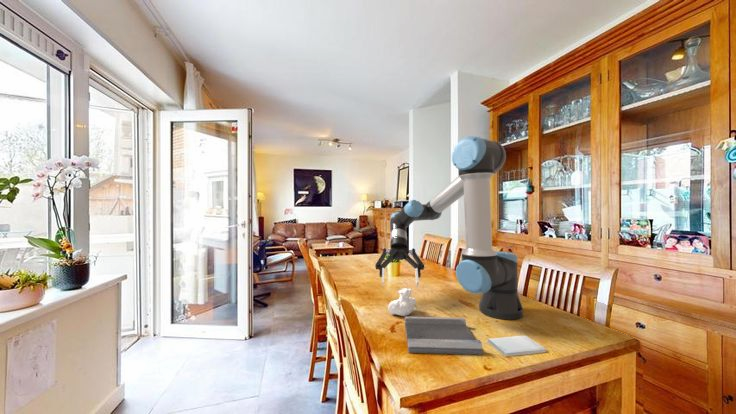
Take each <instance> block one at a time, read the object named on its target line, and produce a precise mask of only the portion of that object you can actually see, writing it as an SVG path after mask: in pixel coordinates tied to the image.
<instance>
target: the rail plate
mask: <svg viewBox="0 0 736 414" xmlns="http://www.w3.org/2000/svg"><path fill="white" fill-rule="evenodd" d="M404 327H405V335H406V344H407V351H408V354H435V355H436V354H438V355H441V354H442V355H469V356H471V355H473V356H474V355H475V356H477V355H478V356H483V354H484V351H483V343H482V341H481V340H477V339H476V338H475V337H474V335H473V333H472V332H471V331H470V329H469V328H468V326H467V319H466V318H465V317H452V316H451V317H450V316H449V317H448V316H444V317H443V316H440V317H439V316H404Z"/></svg>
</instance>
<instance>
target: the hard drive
mask: <svg viewBox="0 0 736 414" xmlns="http://www.w3.org/2000/svg"><path fill="white" fill-rule="evenodd" d="M486 341H487V343H488V344H489V345H490V346H492V347H493V348H494V349H495V350H496V351H498V352H499V353H500V354H501V355H503V356H504V357H515V356H523V355H534V354H543V353H547V349H546V347H544V346H543V345H541V344H540V343H538V342H536V341H535V340H534V339H532V338H530V337H528V336H527V335H515V336H513V335H512V336H503V337H493V338H487V340H486Z"/></svg>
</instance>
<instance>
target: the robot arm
mask: <svg viewBox="0 0 736 414" xmlns="http://www.w3.org/2000/svg"><path fill="white" fill-rule="evenodd" d="M452 150H453V151H452V153H451V161H452V162H451V163H452V164H453V166H455V168H456V169H457V170H458V176H457V177H456V178H454V179H453V180H452V181H451V182H450V183H449V184H448V185H447V186H445V187H444V188H443V189H442V190H441V191H440V192H438V193H437V194H436V195H435V196H434V197H433V198H432V199H430V200H429V201H428V202H427V203H424V204H423V203H421V202H420V201H419V200H416V199H411V200H410V201H408V202H407V203H406V204H405V205H404V206H403V208H401V209H400V211H396V212H393V213H391V215H390V220H389V227H390V228H389V229H390V230H389V231H390V233H389V235H390V237H389V238H390V247H389V249H387V248H384V247H383V251H382V253H381V255H380V257H379V258H378V259H377V262H376V263H375V265H374V266H375V269H376V270H379V275H378V276H379V278H381V285H382V286H385V268H386V267H387V266H389V265H390V264H391V263H392V262H394V260H396V261H398V260H400V261H403V260H405V262H407V263H408V264H410V265H411V267H412V268H414V270H415V271H414V274H415V285H416V287H419V282H420V280H419V279H420V278H421V276H422V275H421V274H422V273H421V271H424V269H425V264H424V262H423V261H422V259H421V258H420V256H419V255H418V254H417V252H416V249H415V248H411V249H408V248H409V247H408V236H407V235H408V233H407V228H408V227H409V226H410V225H411V224H412V223H413V222H415V221H416V222H417V221H434V220H439V219H440V218H441V216H442V212H443V211H445V210H446V209H448V208H449V207H450V206H451V205H453V204H454V203H455V202H457V201H458V200H459V199H460V198H461V197H463V202H464V205H463V206H464V226H465V227H464V231H465V232H464V233H465V234H464V235H465V249H464V250H463V251H461V261H459V263H458V264H457V266H456V267H455V276H456V280H457V282H458V283H459V285H461V287H462V288H463V289H464V290H465V291H466V292H468V293H471V294H475V295H477V294H481V297H480V300H479V303H478V310H479V311H480V312H481V313H482V314H483V315H485V316H489V317H491V318H494V319H501V320H511V321H512V320H518V319H519V320H520V319H522V318H523V317H524V308H523V305H522V302H521V299H520V296H519V294H518V293H519V292H518V290H519V289H518V264H519V262H518V257H517V255H516V254H515V253H513V252H508V251H507V252H506V251H499V250H494V248H493V241H492V240H493V239H492V238H493V236H492V235H493V234H492V233H493V231H492V214H491V213H492V212H491V211H492V210H491V183H490V181H491V179H492V177H493V176H495V174H496V173H497V172H499V171H500V170H501V169H502V167H503V166H504V164H505V162H506V159H507V153H506V150H505V148H504V146H503V145H502V144H501V143H499V142H498V141H496V140H491V139H487V138H482V137H481V136H472V135H471V136H466V137H464V138H461V139H460V140H459V141H457V143H456V144H455V146H454V148H453V149H452ZM389 254H390V255H389ZM387 255H389V256H388V257H387ZM410 255H411V256H412V258H411V256H410ZM386 257H387V258H386ZM385 258H386V259H385Z"/></svg>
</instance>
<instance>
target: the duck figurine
mask: <svg viewBox="0 0 736 414" xmlns="http://www.w3.org/2000/svg"><path fill="white" fill-rule="evenodd" d="M397 294H398V295H399V298H398V299H395V300H392V301H390V303H389V304H388V307H387V311H388V313H389V314H390V315H398V316H400V317H408V315H409V316H410V314H412V312H414V308H415V306H416V305H417V301H416V298H414V297H411V296H412V288H407V287H404V288H402V289H400V290H397Z"/></svg>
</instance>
